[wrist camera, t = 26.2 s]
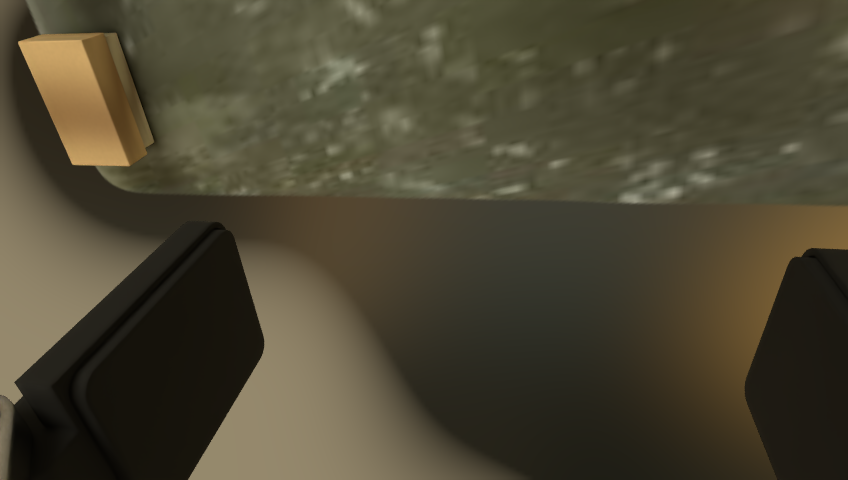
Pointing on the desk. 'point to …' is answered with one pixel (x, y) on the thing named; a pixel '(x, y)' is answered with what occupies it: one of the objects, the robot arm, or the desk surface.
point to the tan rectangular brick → (90, 96)
